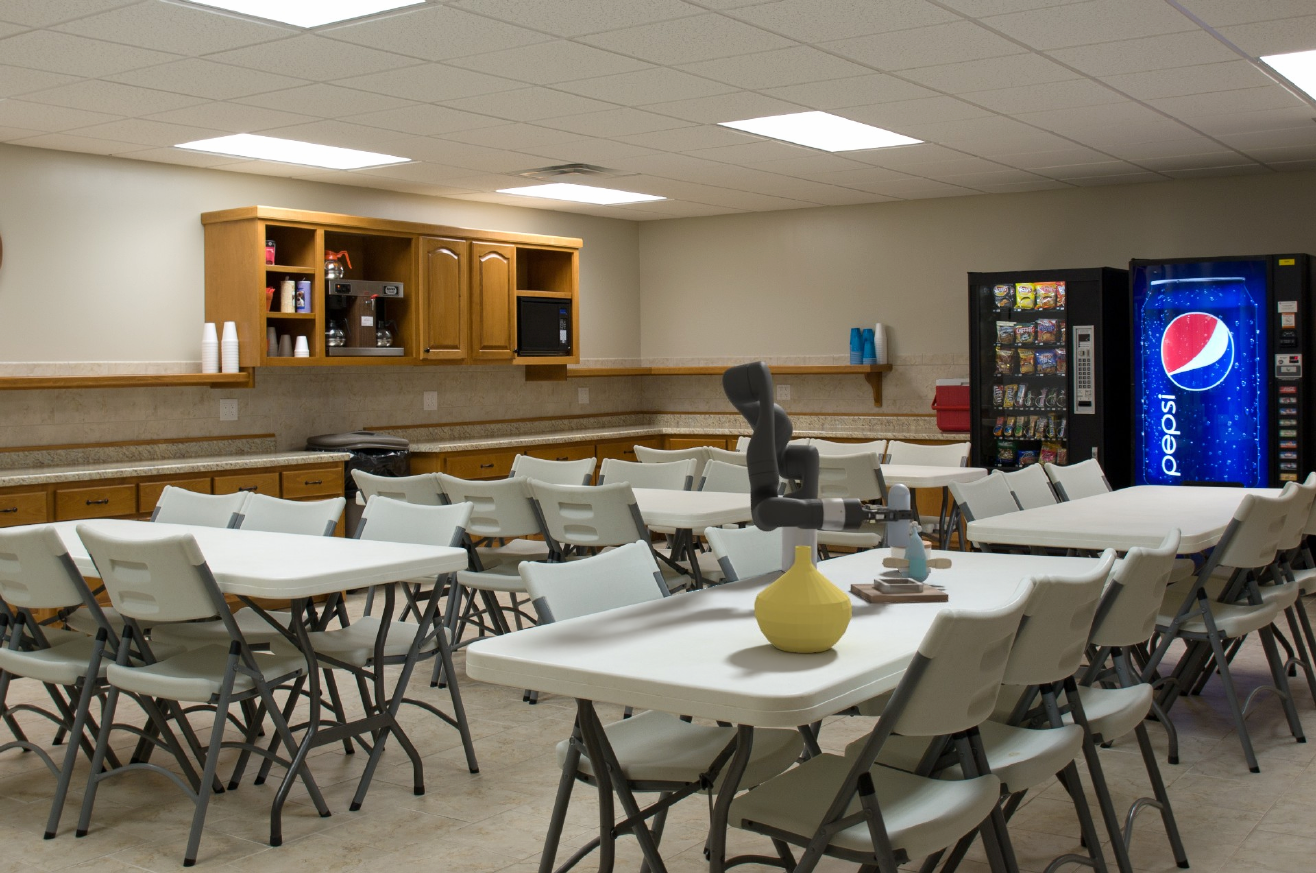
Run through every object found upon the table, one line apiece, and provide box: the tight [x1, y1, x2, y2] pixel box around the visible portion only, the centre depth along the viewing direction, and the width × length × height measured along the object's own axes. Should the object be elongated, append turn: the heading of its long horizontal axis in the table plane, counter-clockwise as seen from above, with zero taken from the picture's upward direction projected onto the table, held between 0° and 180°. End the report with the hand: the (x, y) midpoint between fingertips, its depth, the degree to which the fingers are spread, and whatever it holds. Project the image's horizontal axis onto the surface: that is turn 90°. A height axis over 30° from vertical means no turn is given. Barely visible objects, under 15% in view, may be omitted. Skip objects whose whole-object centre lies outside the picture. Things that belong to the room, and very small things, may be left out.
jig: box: [850, 577, 949, 604], centre depth 291 cm, size 17×18×3 cm
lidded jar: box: [889, 535, 932, 573], centre depth 328 cm, size 11×11×9 cm
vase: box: [753, 546, 853, 654], centre depth 235 cm, size 18×18×19 cm
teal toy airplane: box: [881, 521, 953, 583], centre depth 309 cm, size 17×10×15 cm, turn 84°
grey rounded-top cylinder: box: [887, 483, 911, 547], centre depth 290 cm, size 5×5×14 cm
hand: (909, 513), depth 291 cm, fingers closed on grey rounded-top cylinder, 5 cm apart
